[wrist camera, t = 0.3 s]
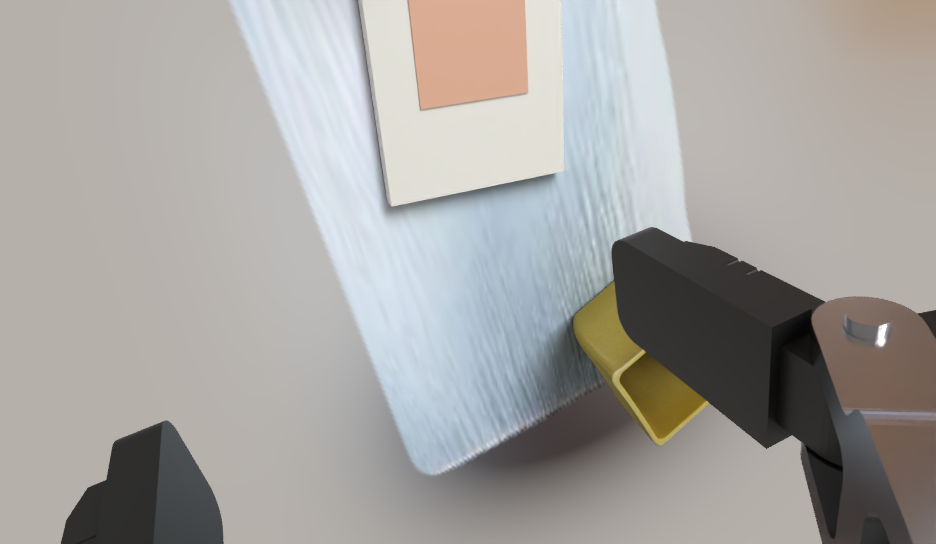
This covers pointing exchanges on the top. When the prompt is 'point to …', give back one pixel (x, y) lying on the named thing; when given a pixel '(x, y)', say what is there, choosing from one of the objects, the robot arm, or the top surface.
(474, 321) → the top surface
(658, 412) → the flower pot
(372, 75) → the board
